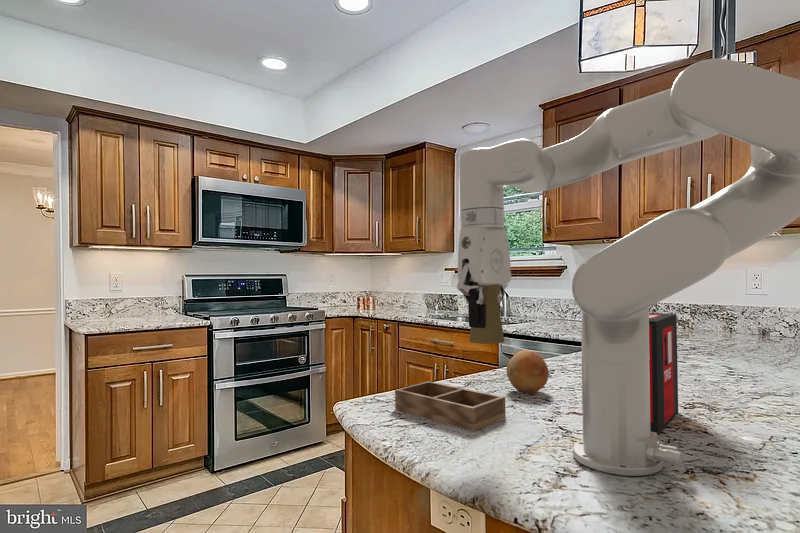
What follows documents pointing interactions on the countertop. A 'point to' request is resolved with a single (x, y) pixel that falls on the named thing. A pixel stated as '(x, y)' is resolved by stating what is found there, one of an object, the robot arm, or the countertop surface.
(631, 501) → the countertop surface
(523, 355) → the onion
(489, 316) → the cork
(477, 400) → the wooden divided tray
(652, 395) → the cleaning product box
